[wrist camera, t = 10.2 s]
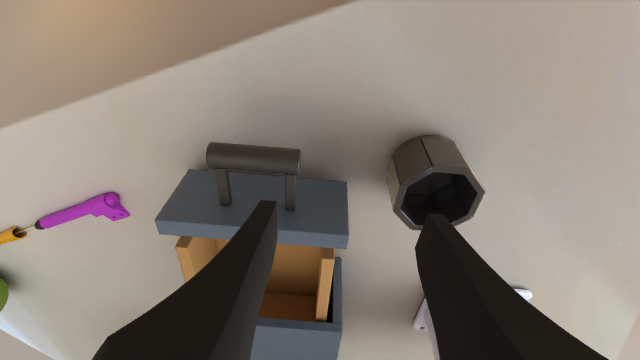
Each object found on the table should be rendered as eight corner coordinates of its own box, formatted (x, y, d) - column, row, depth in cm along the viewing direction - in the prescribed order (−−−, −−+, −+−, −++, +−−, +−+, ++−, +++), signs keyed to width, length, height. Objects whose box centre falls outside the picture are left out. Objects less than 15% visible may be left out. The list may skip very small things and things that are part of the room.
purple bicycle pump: (112, 188, 25) (-15, 234, 29) (106, 200, 24) (-24, 246, 28) (139, 206, 26) (16, 247, 31) (134, 217, 26) (9, 258, 30)
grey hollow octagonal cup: (472, 138, 20) (496, 170, 17) (448, 197, 23) (465, 234, 20) (395, 131, 20) (405, 163, 17) (381, 192, 23) (388, 228, 20)
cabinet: (204, 246, 28) (172, 319, 23) (341, 257, 28) (342, 332, 23) (223, 328, 37) (203, 396, 31) (328, 337, 37) (326, 405, 31)
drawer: (176, 113, 19) (132, 158, 15) (354, 128, 19) (359, 176, 15) (214, 283, 30) (194, 337, 26) (330, 292, 30) (329, 347, 26)
